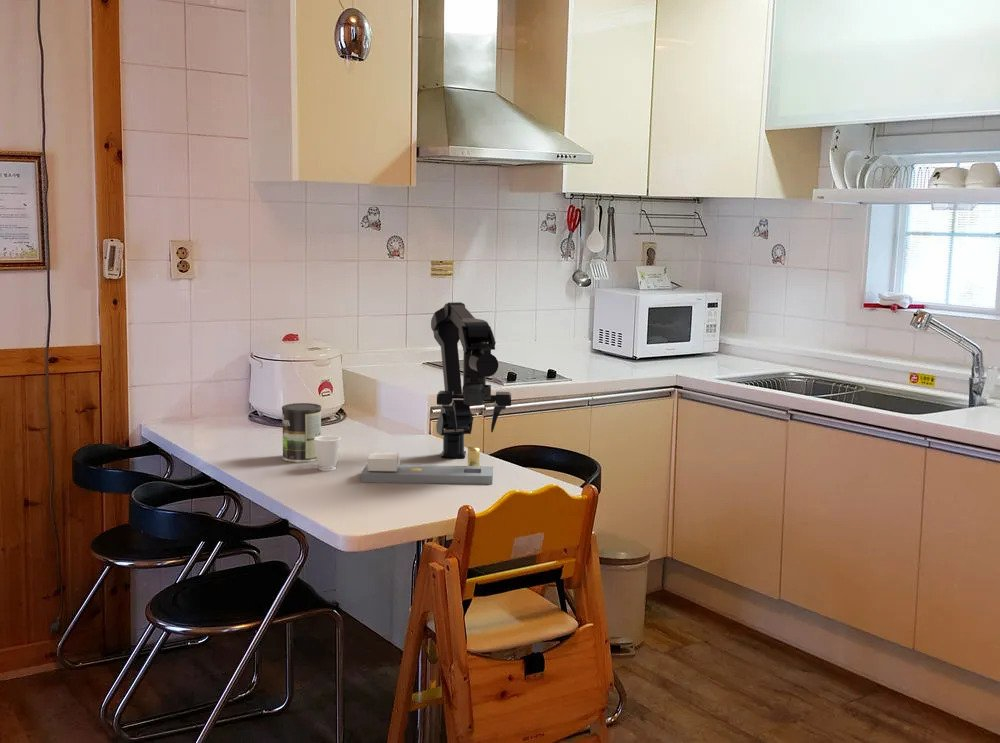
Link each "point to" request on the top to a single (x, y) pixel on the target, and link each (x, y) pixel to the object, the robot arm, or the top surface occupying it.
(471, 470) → the board
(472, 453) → the pin
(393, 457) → the cover
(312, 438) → the coffee can
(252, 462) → the top surface
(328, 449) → the cup
